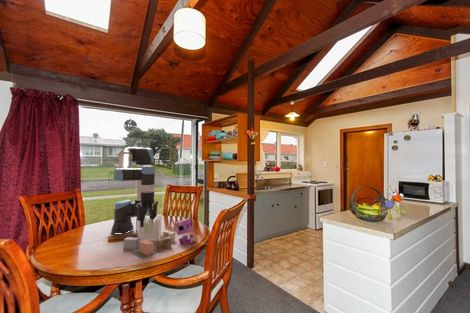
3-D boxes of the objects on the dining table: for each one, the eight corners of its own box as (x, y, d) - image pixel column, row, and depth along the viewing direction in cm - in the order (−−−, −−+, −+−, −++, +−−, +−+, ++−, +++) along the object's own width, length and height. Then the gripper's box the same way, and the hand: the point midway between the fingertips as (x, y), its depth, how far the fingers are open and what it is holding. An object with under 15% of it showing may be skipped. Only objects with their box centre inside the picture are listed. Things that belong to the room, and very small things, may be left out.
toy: (190, 243, 142) (184, 221, 144) (179, 246, 143) (173, 224, 145) (196, 238, 152) (191, 217, 154) (186, 241, 154) (181, 220, 156)
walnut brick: (158, 250, 133) (159, 240, 133) (156, 248, 136) (156, 239, 136) (171, 247, 138) (171, 238, 138) (168, 245, 141) (168, 236, 141)
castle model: (136, 242, 145) (137, 220, 145) (141, 235, 159) (141, 214, 159) (159, 241, 148) (159, 219, 148) (161, 234, 162) (162, 214, 162)
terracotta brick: (139, 251, 129) (139, 241, 130) (145, 249, 133) (145, 239, 133) (147, 255, 125) (147, 244, 125) (153, 253, 128) (153, 242, 128)
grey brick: (123, 249, 134) (123, 239, 134) (127, 246, 138) (127, 237, 138) (135, 249, 134) (136, 239, 134) (139, 247, 138) (139, 237, 138)
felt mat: (130, 254, 127) (130, 253, 127) (149, 247, 137) (149, 246, 137) (142, 259, 120) (142, 258, 120) (161, 252, 130) (161, 251, 130)
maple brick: (162, 240, 150) (162, 231, 150) (167, 238, 153) (167, 230, 153) (170, 242, 146) (170, 233, 146) (174, 241, 149) (175, 232, 149)
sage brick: (139, 232, 129) (139, 221, 130) (145, 230, 133) (145, 220, 133) (147, 234, 125) (148, 224, 125) (153, 232, 128) (154, 222, 128)
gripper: (137, 193, 120) (136, 236, 120) (163, 190, 134) (162, 228, 134) (130, 192, 125) (129, 233, 124) (156, 189, 139) (155, 226, 138)
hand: (146, 231), depth 129 cm, fingers closed on sage brick, 4 cm apart
